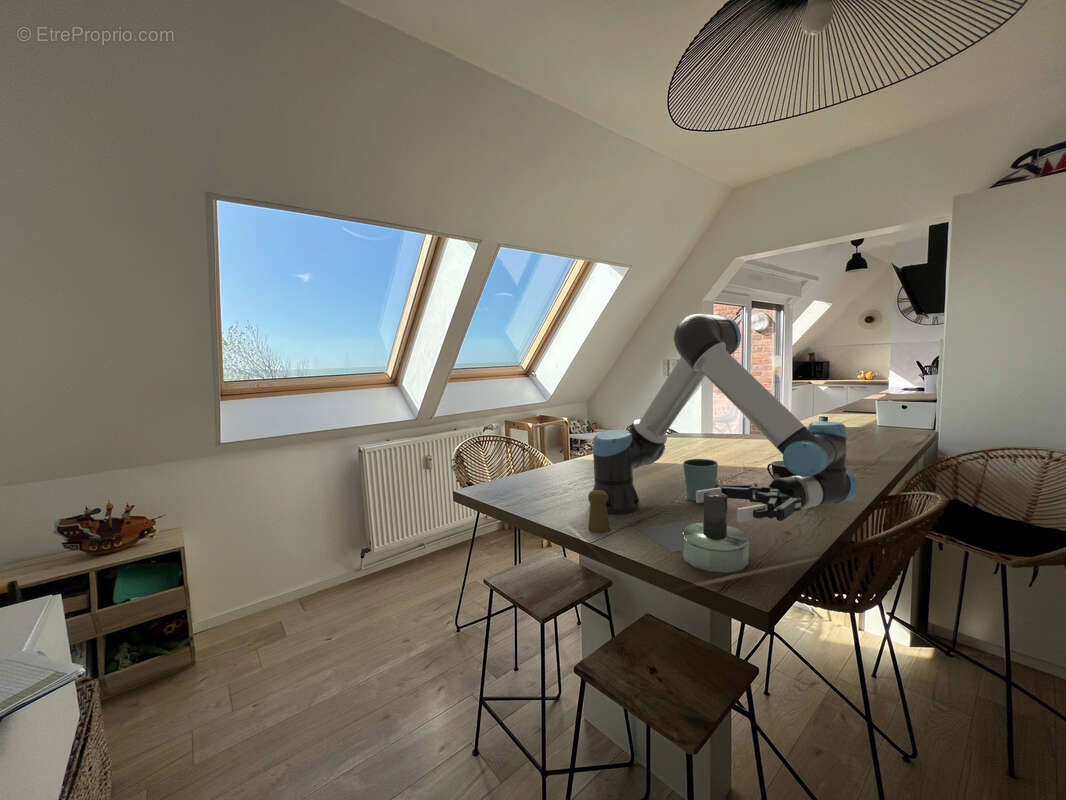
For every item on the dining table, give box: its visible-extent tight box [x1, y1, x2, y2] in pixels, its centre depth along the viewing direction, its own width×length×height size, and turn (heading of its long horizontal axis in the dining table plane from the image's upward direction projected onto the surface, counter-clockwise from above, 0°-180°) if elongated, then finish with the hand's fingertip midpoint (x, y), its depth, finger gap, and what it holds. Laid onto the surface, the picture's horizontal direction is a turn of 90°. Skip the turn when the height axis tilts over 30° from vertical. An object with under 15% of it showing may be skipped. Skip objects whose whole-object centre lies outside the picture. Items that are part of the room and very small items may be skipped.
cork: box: [587, 489, 611, 534], centre depth 120 cm, size 6×6×11 cm
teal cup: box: [682, 458, 719, 502], centre depth 141 cm, size 10×10×12 cm
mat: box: [636, 519, 696, 554], centre depth 114 cm, size 16×16×1 cm
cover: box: [682, 492, 750, 574], centre depth 99 cm, size 13×13×15 cm
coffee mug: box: [766, 460, 797, 480], centre depth 143 cm, size 12×9×10 cm
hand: (715, 505), depth 99 cm, fingers open, 13 cm apart
